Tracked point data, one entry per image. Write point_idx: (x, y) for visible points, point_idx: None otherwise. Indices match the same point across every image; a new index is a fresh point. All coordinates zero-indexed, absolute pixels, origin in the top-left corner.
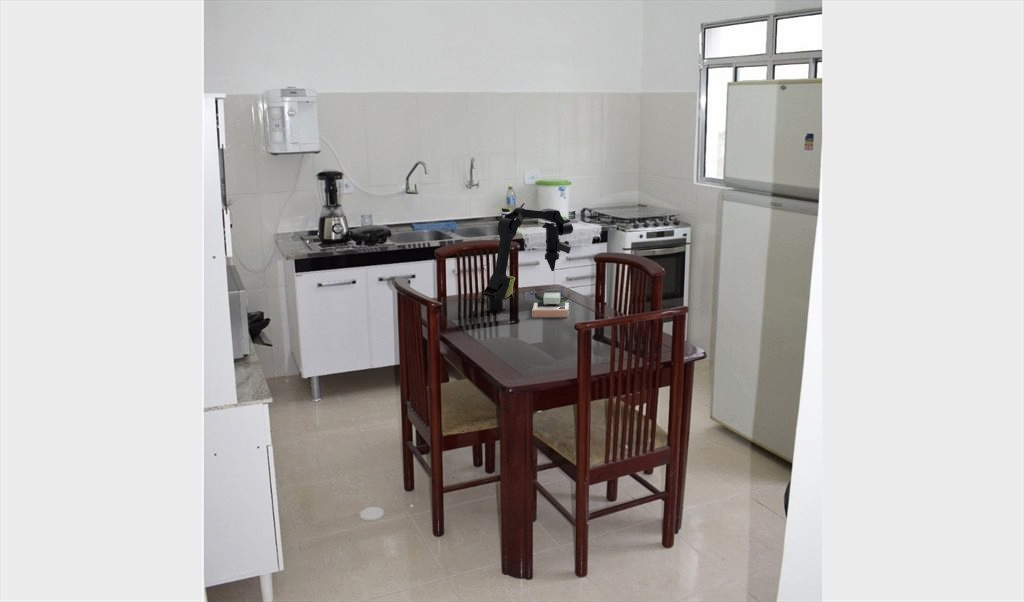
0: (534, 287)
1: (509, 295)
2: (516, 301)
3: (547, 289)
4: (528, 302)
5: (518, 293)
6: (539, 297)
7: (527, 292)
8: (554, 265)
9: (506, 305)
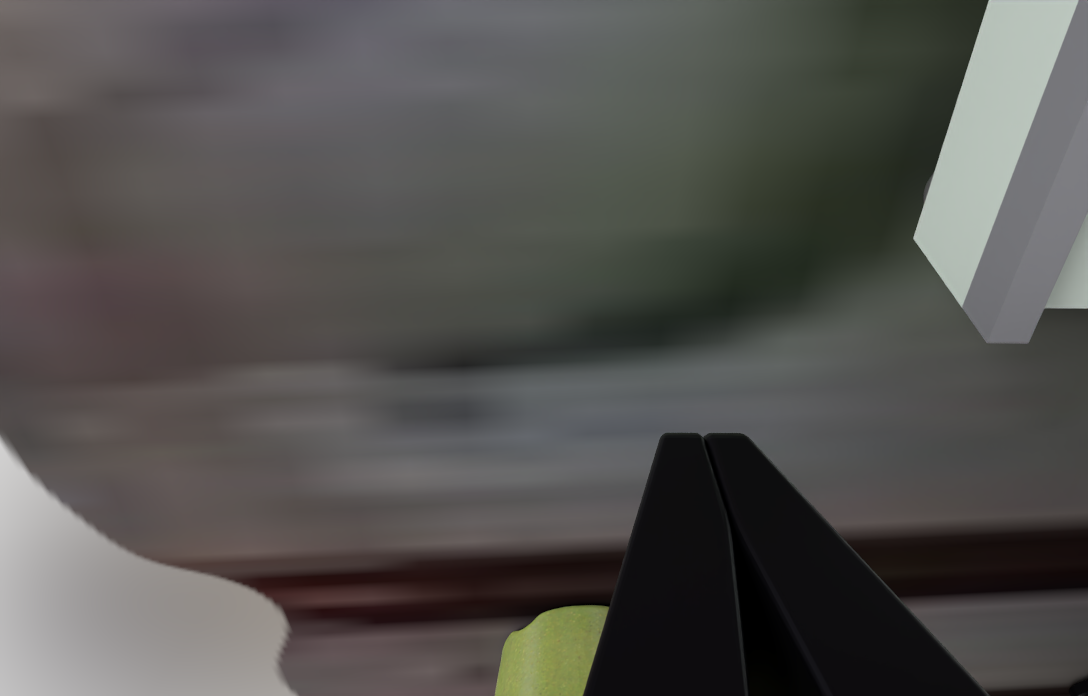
0: (5, 397)
1: None
2: None
3: (1031, 285)
4: (938, 429)
5: (418, 553)
6: (663, 302)
7: (348, 466)
8: (947, 672)
9: (997, 620)
